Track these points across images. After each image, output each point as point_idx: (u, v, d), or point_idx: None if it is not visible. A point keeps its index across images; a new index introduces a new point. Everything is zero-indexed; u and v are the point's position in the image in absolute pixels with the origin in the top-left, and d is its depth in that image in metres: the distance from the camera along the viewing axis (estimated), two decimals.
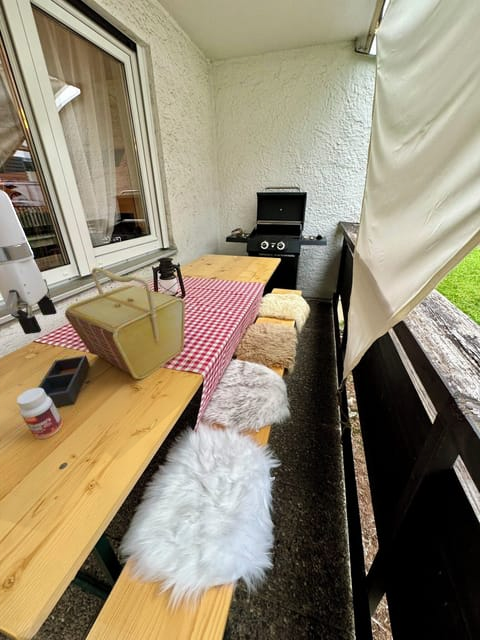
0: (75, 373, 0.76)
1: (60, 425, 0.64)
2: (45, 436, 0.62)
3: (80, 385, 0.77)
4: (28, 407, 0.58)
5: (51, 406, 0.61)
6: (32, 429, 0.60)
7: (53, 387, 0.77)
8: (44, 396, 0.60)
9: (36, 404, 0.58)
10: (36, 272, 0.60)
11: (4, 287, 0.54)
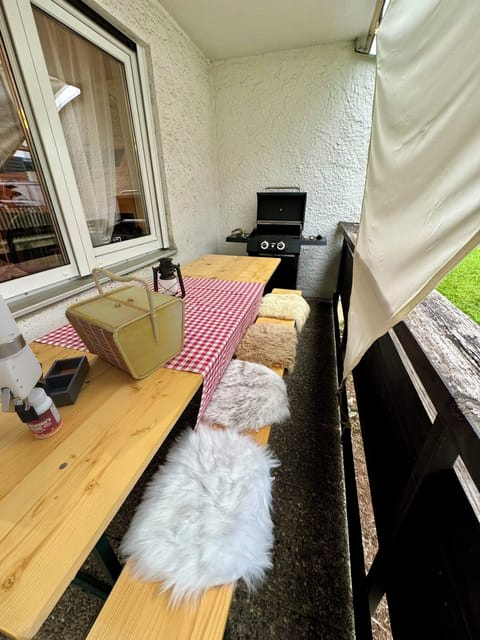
0: (75, 373, 0.76)
1: (60, 425, 0.64)
2: (45, 436, 0.62)
3: (80, 385, 0.77)
4: None
5: (51, 406, 0.61)
6: (32, 429, 0.60)
7: (53, 387, 0.77)
8: (44, 396, 0.60)
9: (36, 404, 0.58)
10: (30, 359, 0.57)
11: None
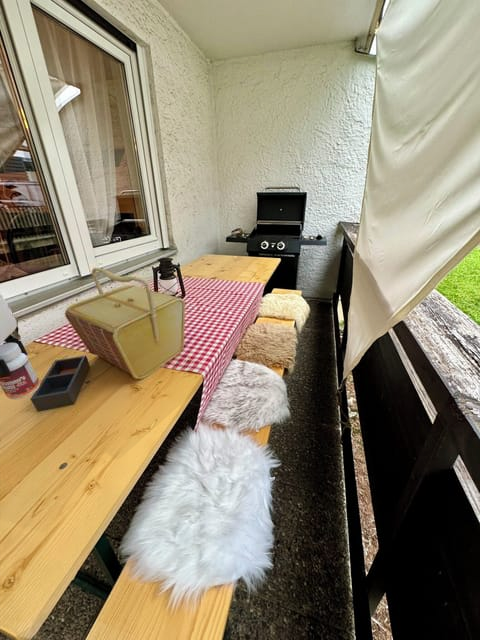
0: (75, 373, 0.76)
1: (37, 386, 0.58)
2: (19, 397, 0.56)
3: (80, 385, 0.77)
4: None
5: (25, 363, 0.55)
6: (4, 388, 0.54)
7: (53, 387, 0.77)
8: (18, 351, 0.54)
9: (8, 359, 0.52)
10: (1, 307, 0.51)
11: None
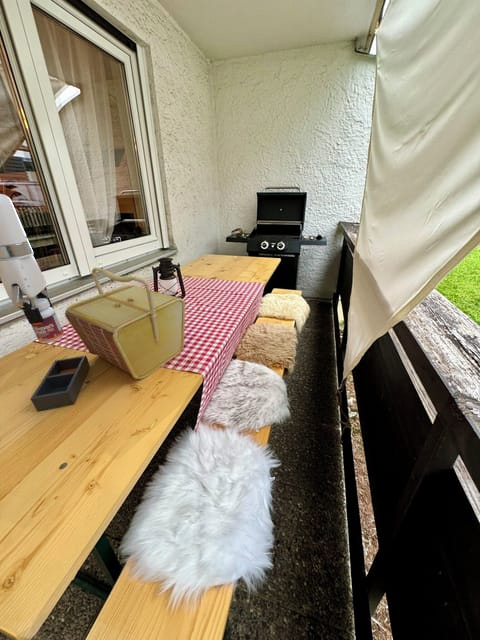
0: (75, 373, 0.76)
1: (61, 334, 0.74)
2: (48, 340, 0.71)
3: (80, 385, 0.77)
4: None
5: (53, 314, 0.71)
6: (37, 332, 0.70)
7: (53, 387, 0.77)
8: (48, 304, 0.70)
9: (41, 308, 0.68)
10: (35, 268, 0.67)
11: (7, 281, 0.60)
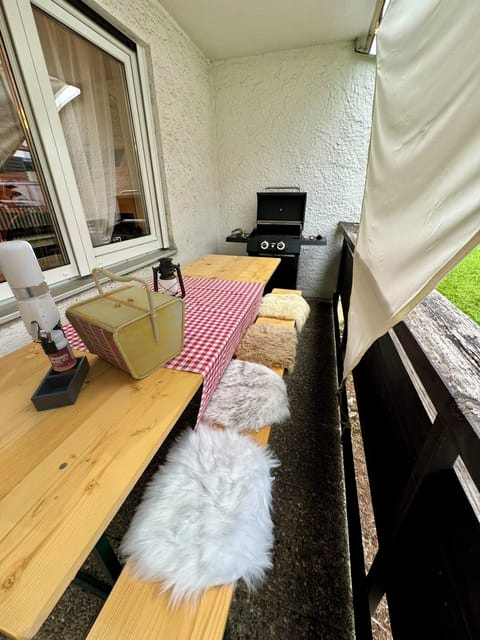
0: (75, 373, 0.76)
1: (74, 362, 0.79)
2: (63, 369, 0.76)
3: (80, 385, 0.77)
4: None
5: (67, 344, 0.76)
6: (53, 362, 0.75)
7: (53, 387, 0.77)
8: (62, 335, 0.75)
9: (56, 340, 0.73)
10: (51, 303, 0.72)
11: (27, 319, 0.66)
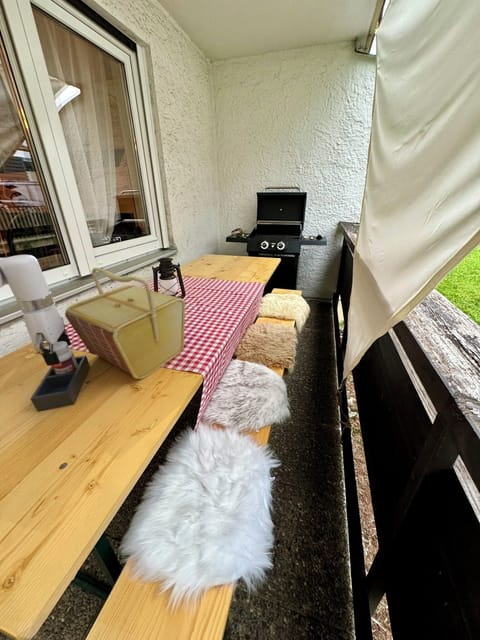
0: (75, 373, 0.76)
1: None
2: None
3: (80, 385, 0.77)
4: None
5: (72, 356, 0.78)
6: (58, 373, 0.77)
7: (53, 387, 0.77)
8: (67, 347, 0.77)
9: (61, 352, 0.75)
10: (56, 315, 0.74)
11: (32, 331, 0.67)
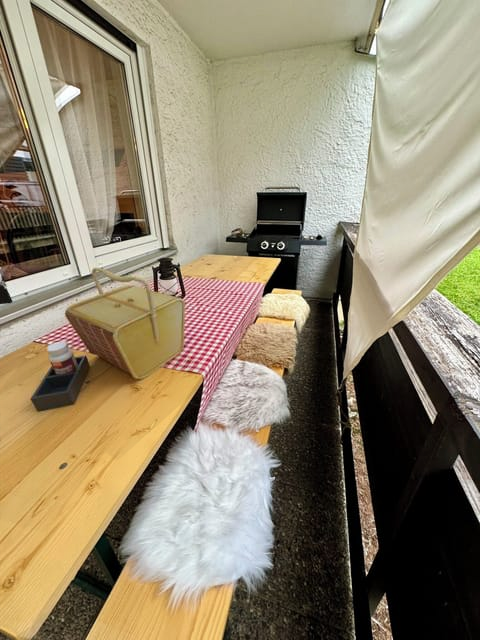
0: (75, 373, 0.76)
1: None
2: None
3: (80, 385, 0.77)
4: (55, 354, 0.74)
5: (72, 356, 0.78)
6: (58, 373, 0.77)
7: (53, 387, 0.77)
8: (67, 347, 0.77)
9: (61, 352, 0.75)
10: None
11: None
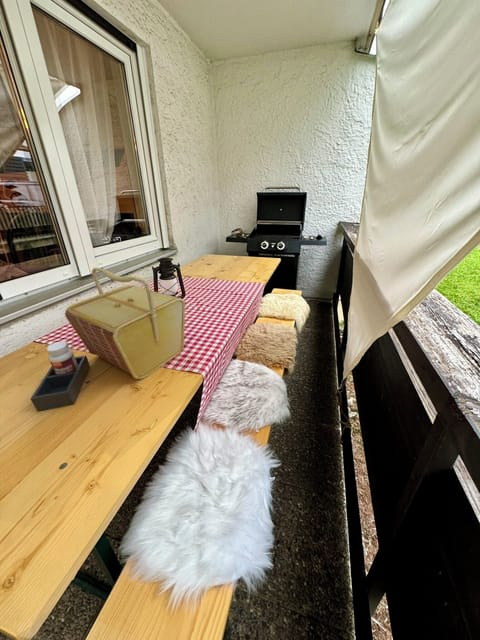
0: (75, 373, 0.76)
1: None
2: None
3: (80, 385, 0.77)
4: (55, 354, 0.74)
5: (72, 356, 0.78)
6: (58, 373, 0.77)
7: (53, 387, 0.77)
8: (67, 347, 0.77)
9: (61, 352, 0.75)
10: None
11: None
